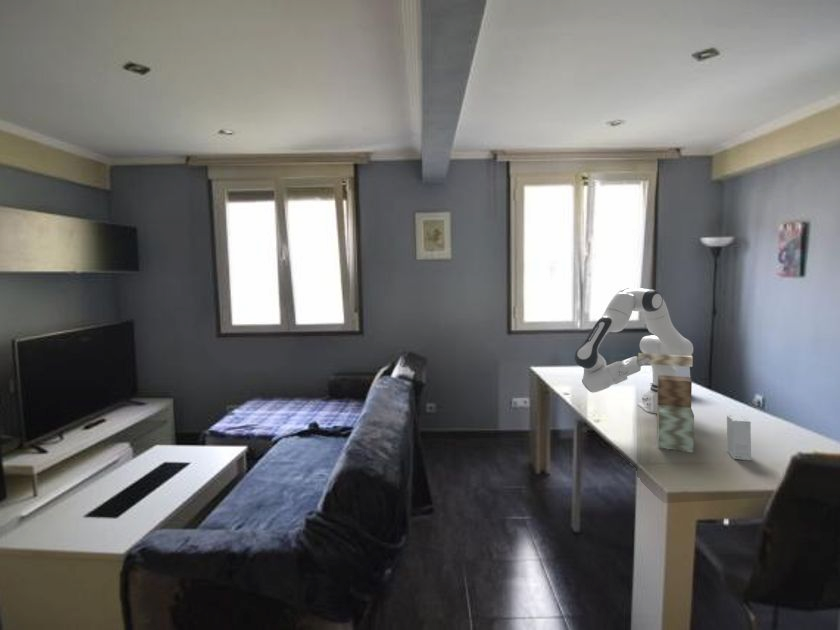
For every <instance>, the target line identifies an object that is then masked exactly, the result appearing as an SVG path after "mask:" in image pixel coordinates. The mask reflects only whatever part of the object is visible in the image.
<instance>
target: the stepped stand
mask: <svg viewBox="0 0 840 630" xmlns="http://www.w3.org/2000/svg"><path fill="white" fill-rule="evenodd" d="M692 387H693V385H692V379H691V376H690V377H681V376H665V375H658V392H657V415H656V436H657V445H658V446H657V447H658V448H659V447H660V448H659V449H662V448H667V449H666V450H669V449H675V450H674V451H677V450H682V451H681V452H685V451H689V452H688V453H692V452H693V453H694V446H695V445H694V441H695V440H694V439H695V438H694V437H695V436H694V435H695V431H694V429H695V413H694V411H693V409H692V389H693V388H692Z"/></svg>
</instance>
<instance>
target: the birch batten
mask: <svg viewBox="0 0 840 630" xmlns="http://www.w3.org/2000/svg"><path fill="white" fill-rule="evenodd" d="M637 354H638V355H637V357H638V361H641V360H643V359H645V358H647V357H648V358H649V359H650V362H648V363H646V364H645V365H650V366H651V365H669V366H687V367H690V368H691V367H693V365H694V364H693V361H694V359H693V355H691V356H688V355H667V354H646V353H643V352H638V353H637Z"/></svg>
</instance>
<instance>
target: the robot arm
mask: <svg viewBox="0 0 840 630" xmlns="http://www.w3.org/2000/svg"><path fill="white" fill-rule="evenodd" d="M633 312H642V315H643V319H644V322H645V326H646V328H647V330H648V332H649V333H651V334H650V335H645V336H643V337H642V338H641V340H640V342H639V349H640V352H641V353H646V354H667V355H688V356H693V353H694V345H693V343H692V342H691V341H690V340H689V339H688V338H686V337H684V336H683V335H682V334H681V333H680V332H679V331H678V330H677V329H676V327H675V326H674V324H673V322H672V320H671V317H670V312H669V309H668V307H667V304H666V302H665V300H664V298H663V296H662V294H661V292H660V291H658V290H655V289H652V288H651V289H649V288H629V287H628V288H623V289H620V290H619V291H618V292H617V293H616V294H614V296H613V297H612V299H611V300H610V302H609V303H608V305H607V306H606V309H605V311H604V312H603V314H602V316H601V318H599V319H598V320H597V322H595V324H594V326H593V327H592V329H591V330H590V333H588V336H587V337H586V338H585V341H584V342H583V343H582V344H581V345H580V346H579V347H577V349H576V351H575V353H574V361H575V363H576V364H577V365H578V366H579V367H582V369H583V376H582V378H581V382H582V385H583V386H584V387H585V389H586V390H588V392H590V393H593V394H594V393H598V392H601V391H604V390H606V389H609V388H610V387H611V386H613V385H618V384H620V383H623V382H624V381H626V380H628V377H629V376H632V375H634V374H637V373H638V372H640V371H642V370H641V369H642V366H645V365H647V364H646V363H648V362H650V359H649V358H648V357H647V358H645V359H643V360H641V361H638V355H636V356H632V357H629V358H626V359H623V360H621V361H620V360H619V361H615V362H613V363H610V364H608V365H607V361H606V359H605V358H604V356H603V355H601V354H600V353H599V348H600V346H601V344H602V342H603V341H604V339H605V338H606V336H607V334H609V333H618V332H621V331H624V329H625V328H626V326H627V325H628V323H629V321H630V319H631V316H632V314H633ZM650 366H651V371H652V382H651V383H649V384H650V389H648V391H646V392H645V393H644V394H643V395H642V398H641V400H642V401H639V402H637V403H636V404H637V406H639V407H640V408H641V409H642V410H643V411H645V412H646V413H651V414H657V392H658V375H665V376H677V375H678V372H677V369H676V368H675V367H674V366H669V365H651V364H650Z"/></svg>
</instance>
